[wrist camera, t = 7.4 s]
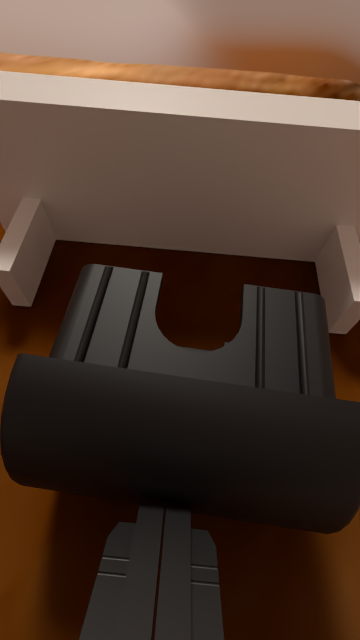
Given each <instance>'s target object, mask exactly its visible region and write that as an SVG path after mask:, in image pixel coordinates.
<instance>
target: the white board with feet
mask: <svg viewBox="0 0 360 640" xmlns="http://www.w3.org/2000/svg"><path fill="white" fill-rule="evenodd" d="M0 222H1V224H2V226H3V228H4V230H5V232H6V233H5V235H4V237H3V239H2V241H1V243H0V287H1V289H2V290H3V292H4V293H5V295H6V296H7V298H8V299H9V301H10V302H11V304H12V305H15V306H27V307H31V306H32V303H33V300H34V298H35V295H36V292H37V290H38V287H39V284H40V281H41V279H42V276H43V273H44V271H45V268H46V265H47V262H48V260H49V257H50V254H51V252H52V249H53V246H54V244H55V241H56V240H66V241H78V242H89V243H101V244H113V245H124V246H136V247H148V248H159V249H171V250H182V251H194V252H206V253H217V254H229V255H240V256H252V257H264V258H275V259H287V260H298V261H310V262H315V265H316V271H317V276H318V282H319V288H320V294H321V296H322V297H323V298H324V299H325V304H326V313H327V322H328V331H329V333H337V334H347V333H348V332H349V330H350V329H351V328H352V327H353V326H354V325H355V324H356V323H357V322H358V321H359V320H360V101H351V100H339V99H327V98H315V97H303V96H291V95H280V94H268V93H256V92H244V91H232V90H220V89H208V88H197V87H185V86H173V85H161V84H149V83H137V82H125V81H114V80H102V79H90V78H78V77H66V76H54V75H42V74H30V73H19V72H7V71H0Z"/></svg>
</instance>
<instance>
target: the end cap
mask: <svg viewBox="0 0 360 640" xmlns="http://www.w3.org/2000/svg"><path fill="white" fill-rule="evenodd" d="M162 281H163V273H158V272H151V271H144V270H136V269H129V268H121V267H114V266H106V265H99V264H88V265H85V266H84V267H83V268H82V270H81V272H80V275H79V278H78V280H77V283H76V286H75V288H74V291H73V294H72V296H71V299H70V302H69V304H68V307H67V310H66V312H65V315H64V318H63V320H62V323H61V326H60V328H59V331H58V334H57V336H56V339H55V342H54V344H53V347H52V350H51V352H50V355H49V357H43V356H36V355H29V354H18V355H17V358H16V361H15V363H14V366H13V369H12V372H11V374H10V378H9V382H8V385H7V389H6V393H5V397H4V403H3V409H2V415H1V429H0V443H1V455H2V458H3V462H4V466H5V469H6V471H7V472H8V474H9V476H10V478H11V479H12V480H14V481H15V482H17V483H18V484H20V485H23V486H29V487H35V488H42V489H48V490H54V491H60V492H67V493H73V494H79V495H86V496H92V497H98V498H104V499H111V500H117V501H123V502H130V503H136V504H140V503H144V504H154V505H164V508H166V506H176V507H186V508H190V509H191V512H192V513H199V514H205V515H211V516H218V517H224V518H230V519H236V520H243V521H249V522H255V523H262V524H268V525H274V526H280V527H287V528H293V529H299V530H306V531H312V532H318V533H325V534H330V533H335V532H338V531H340V530H342V529H343V528H344V527H345V526H347V525H348V524H349V523H350V522H351V520H352V519H353V517H354V516H355V514H356V512H357V511H358V509H359V507H360V402H353V401H347V400H340V399H336V395H335V386H334V377H333V368H332V359H331V349H330V340H329V331H328V322H327V313H326V304H325V299H324V298H323V297H322V296H320V295H318V294H314V293H307V292H300V291H292V290H285V289H277V288H270V287H263V286H255V285H248V284H244V286H243V289H242V292H241V312H240V327H239V332H238V334H237V335H236V337H235V338H234V339H233V340H232V341H231V342H230V343H227V342H225V343H224V346H223V347H222V348H220V349H217V350H214V351H208V350H201V349H193V348H186V347H179V346H176V345H174V344H173V343H171V342H170V341H169V340H168V339H166V338H165V337H164V336H163V333H161V331H160V330H159V328H158V325H157V323H156V319H155V316H156V310H157V305H158V300H159V296H160V291H161V286H162Z"/></svg>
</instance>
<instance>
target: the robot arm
mask: <svg viewBox="0 0 360 640" xmlns="http://www.w3.org/2000/svg"><path fill="white" fill-rule="evenodd" d="M163 513H164V505H154V504H144V503H140V506H139V511H138V516H137V521H136V523H127V522H119V523H118V524H117V525H116V527H115V528H114V529H113V530H112V532H111V533H110V534H109V536H108V537H107V541H106V545H105V548H104V552H103V555H102V559H101V562H100V566H99V570H98V575H97V577H96V580H95V584H94V588H93V591H92V595H91V598H90V602H89V605H88V609H87V613H86V616H85V620H84V623H83V627H82V631H81V634H80V638H79V640H152V630H153V619H154V609H155V599H156V588H157V578H158V568H159V557H160V546H161V535H162V524H163ZM154 640H224V632H223V621H222V609H221V597H220V587H219V574H218V562H217V551H216V546H215V544H214V542H213V540H212V538H211V536H210V534H209V532H208V530H200V529H191V509H190V508H186V507H176V506H166V515H165V526H164V536H163V547H162V558H161V569H160V580H159V591H158V602H157V613H156V624H155V635H154Z"/></svg>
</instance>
